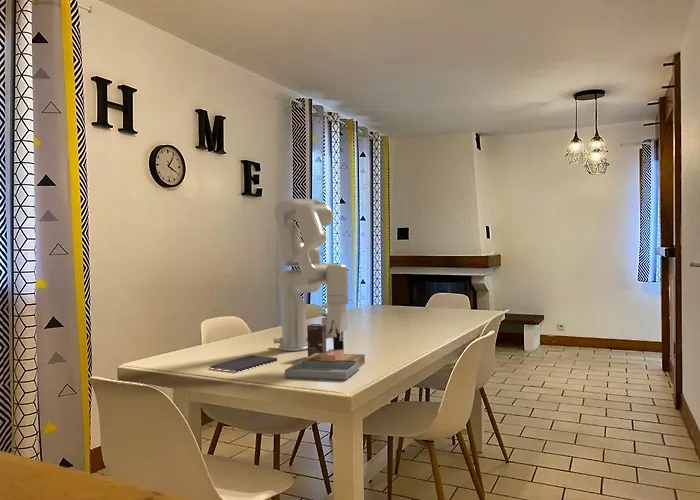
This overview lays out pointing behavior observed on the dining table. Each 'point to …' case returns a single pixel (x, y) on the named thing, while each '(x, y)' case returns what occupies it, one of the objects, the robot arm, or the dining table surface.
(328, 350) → the tile
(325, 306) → the french press
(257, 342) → the dining table surface
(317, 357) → the brown slab
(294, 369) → the tray
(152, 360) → the dining table surface
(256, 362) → the notebook
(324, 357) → the tile
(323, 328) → the box
